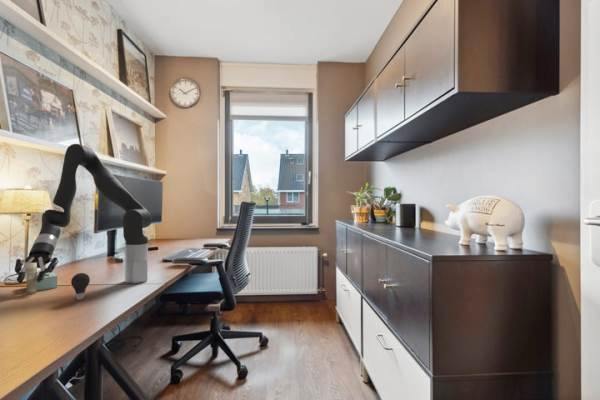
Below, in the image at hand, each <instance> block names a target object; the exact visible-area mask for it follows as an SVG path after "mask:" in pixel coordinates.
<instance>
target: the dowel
mask: <svg viewBox="0 0 600 400" xmlns="http://www.w3.org/2000/svg"><path fill="white" fill-rule="evenodd" d="M37 269H38V268H37V263H27V273H26V283H25V286H26V289H25V291H26V293H25V295H27V296H30V295H35V294H37V291H36V282H37V280H36V279H37V274H38V273H37Z"/></svg>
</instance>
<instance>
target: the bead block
mask: <svg viewBox="0 0 600 400" xmlns="http://www.w3.org/2000/svg"><path fill="white" fill-rule="evenodd" d="M38 274H39V273H37V277H38ZM57 288H58V275H57V274H56V272H54V271H52V272H51V273H49V272H48V273H46V274H45V276H44V278H43V280H42V281H41V282H36V292H37V291H45V290H49V289H50V290H51V289H57Z"/></svg>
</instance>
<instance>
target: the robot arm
mask: <svg viewBox="0 0 600 400" xmlns="http://www.w3.org/2000/svg"><path fill="white" fill-rule="evenodd" d="M79 166H81V167H83V168H84V169H85V170H87V172H89V174H90V175H91V176H92V179H93V182H94V185H95V187H96V189H97V190H98V192H100V193H101V194H102V196H104V198H106V200H108V201H110V202H112V203H113V204H115V205H116V206H118V207H120V208H121V209H122V210H124V211H125V213H124V215H123V218H122V229H123V233H122V235H123V239H124V241H125V251H124V253H125V254H124V255H125V258H124V259H125V260H124V282H125V283H127V284H137V283H143V282H145V283H146V282H147V281H148V277H149V276H148V273H149V271H148V270H149V269H148V268H149V265H148V261H149V259H148V258H149V256H148V255H149V238H148V236H146V235H144V231H143V230H144V229H145V228H148V227H149V226H151V224H152V222H153V218H152V215H151V213H150V212H149V210H148V209H146V208H145V207H144V206H143V205H142V204H141V203H140V202H139V201H138V200H137V199H135V198H134V196H133V195H132V194H131V193H130V192H129V191H128V190H127V189H126V188H125V186H124V185H123V184H122V183H121V181H119V179H118V178H117V177H116V176H115V175H114V174H113V173H112V172H111V171H110V170H109V169H108V167H106V166H105V165H104V163H103V162H102V160H101V159H100V158H99V156H98V155H97V153H96V152H95V150H93V149H92V148H90V147H87V146H85V145H82V144H80V143H72V144H70V145H69V146H68V147H67V148H66V151H65V153H64V159H63V165H62V169H61V175H60V180H59V185H58V186H57V187H58V188H57V189H56V193H55V194H54V198H53V200H52V203H53V204H54V205H55V206H56V207H57V206H58V207H60V208H62V210H63V211H59V210H56V209H46V210H44V212H45V213H44V212H43V213H42V215H41V227H40V231H39V233H38V235H37V237H36V239H35V240H34V242H33V244H32V246H31V248H30V250H29V252H28V256H27V257H26V258H24V259H21V258H18V259H16V260H15V265H14V272H15V273H16V275H18V276H17V278H16V281H17V282H18V284H23V283H24V280H25V277H26V275H27V263H37V269H40V271H38V273H37V274H38V277H37V279H36V280H37V282H41V281H42V280H43V278H44V276H45V274H46V273H53V272H54V270H55V268H56V267H57V264H58V263H60V262H59V259H58V257H57V256H55V257H53V254H54V252H55V250H56V247H57V244H58V240H59V238H60V235H61V232H62V231H61V228H66V227H68V226H69V225H70V223H71V209H72V205H73V201H74V199H75V196H76V193H77V179H76V178H77V170H78V167H79ZM48 264H49V265H48ZM46 265H48V266H46Z"/></svg>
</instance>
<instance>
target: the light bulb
mask: <svg viewBox="0 0 600 400" xmlns="http://www.w3.org/2000/svg"><path fill="white" fill-rule="evenodd" d="M70 284H71V286H72V288H73V289H74V292H75V294H76V295H75V297H76V300H78V301H82V300H83V299H84V298H85V295H86V294H85V293H86V290H87V287H88V285H90V276H89V275H88V274H87V273H85V272H84V273H83V272H79V273H76V274H75V275H74V276H73V277H72V278H71V281H70Z"/></svg>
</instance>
